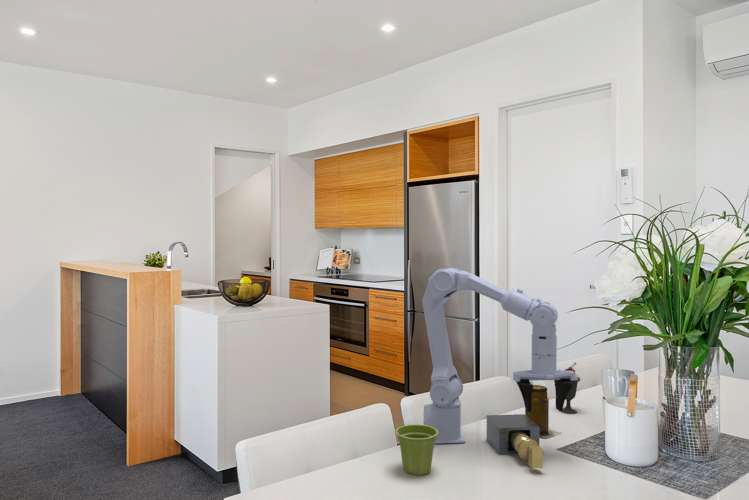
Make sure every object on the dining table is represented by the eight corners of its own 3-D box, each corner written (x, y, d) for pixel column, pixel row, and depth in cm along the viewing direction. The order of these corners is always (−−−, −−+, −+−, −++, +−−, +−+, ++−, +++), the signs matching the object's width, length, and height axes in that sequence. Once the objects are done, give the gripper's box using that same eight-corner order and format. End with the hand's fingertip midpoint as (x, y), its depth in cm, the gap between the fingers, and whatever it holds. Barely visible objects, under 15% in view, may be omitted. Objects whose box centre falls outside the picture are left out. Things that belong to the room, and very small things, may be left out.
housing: (498, 454, 130) (498, 428, 130) (486, 440, 140) (486, 415, 140) (539, 453, 131) (539, 427, 131) (524, 439, 141) (524, 414, 141)
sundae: (583, 414, 161) (584, 364, 161) (561, 414, 161) (561, 364, 161) (575, 408, 168) (576, 359, 168) (553, 408, 168) (554, 359, 168)
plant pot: (409, 482, 115) (409, 441, 115) (388, 466, 123) (388, 427, 123) (446, 474, 119) (446, 434, 119) (423, 458, 127) (423, 421, 127)
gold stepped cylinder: (525, 471, 119) (526, 447, 119) (506, 448, 132) (506, 427, 132) (549, 470, 119) (549, 446, 119) (526, 448, 132) (526, 426, 132)
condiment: (533, 425, 152) (533, 382, 152) (560, 433, 145) (561, 388, 145) (517, 430, 147) (518, 386, 147) (545, 439, 141) (545, 393, 141)
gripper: (520, 357, 126) (520, 416, 126) (580, 356, 127) (580, 414, 127) (510, 351, 133) (510, 407, 133) (567, 350, 134) (567, 405, 134)
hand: (543, 410), depth 131 cm, fingers open, 7 cm apart
